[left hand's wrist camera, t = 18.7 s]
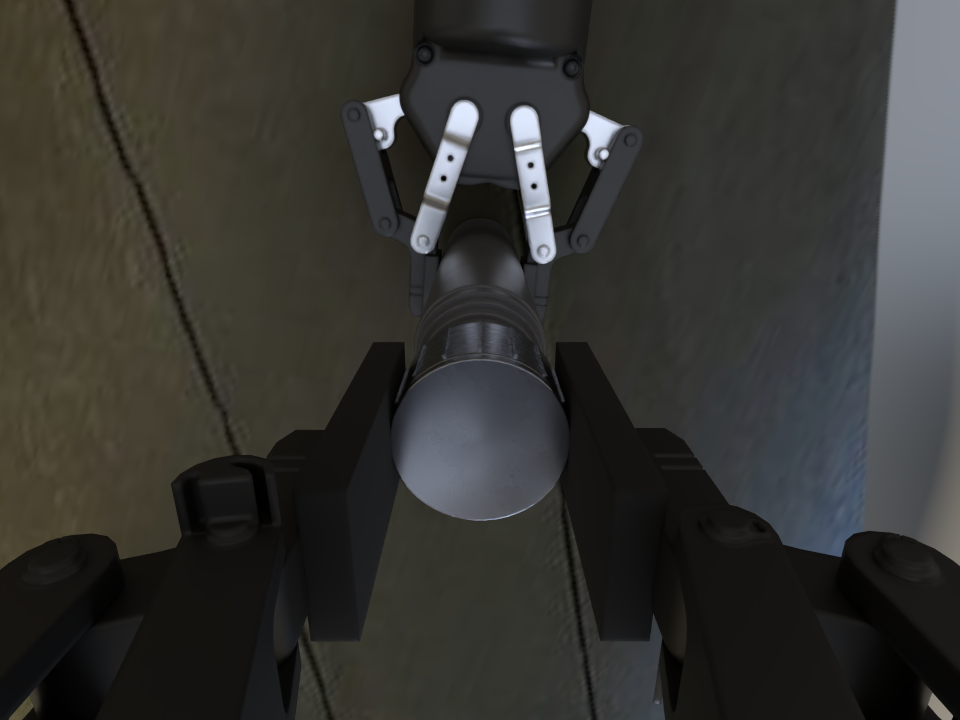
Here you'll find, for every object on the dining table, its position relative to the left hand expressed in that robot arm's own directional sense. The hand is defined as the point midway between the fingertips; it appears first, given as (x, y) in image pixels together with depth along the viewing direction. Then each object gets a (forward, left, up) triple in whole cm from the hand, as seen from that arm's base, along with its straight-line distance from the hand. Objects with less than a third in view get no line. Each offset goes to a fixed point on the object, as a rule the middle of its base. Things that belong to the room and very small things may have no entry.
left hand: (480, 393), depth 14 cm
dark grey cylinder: (0, 0, -22) cm, 22 cm away
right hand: (-1, -3, -15) cm, 15 cm away
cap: (0, 0, +2) cm, 2 cm away
